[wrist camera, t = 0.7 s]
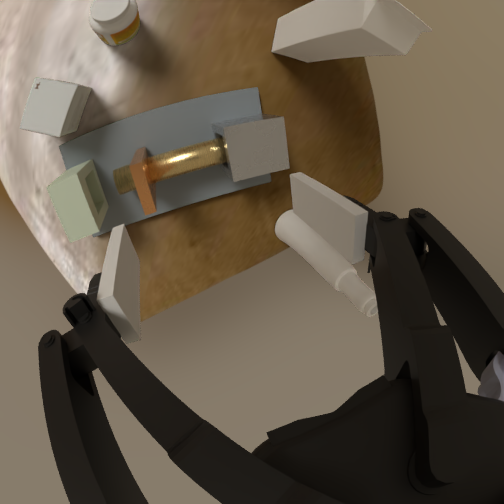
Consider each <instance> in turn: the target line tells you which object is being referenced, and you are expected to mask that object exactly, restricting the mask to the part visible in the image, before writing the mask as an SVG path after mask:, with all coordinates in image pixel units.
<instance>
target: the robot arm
mask: <svg viewBox="0 0 504 504" xmlns="http://www.w3.org/2000/svg"><path fill="white" fill-rule="evenodd" d="M290 182H291V192H292V203H293V213H294V214H296V215H297V216H298V217H299V218H300V219H301V220H303V221H304V222H305V223H306V224H307V225H308V226H310V227H311V228H312V229H313V230H314V231H315V232H316V233H318V234H319V235H320V236H321V237H322V238H323V239H324V240H325V241H327V242H328V243H329V244H330V245H331V246H332V247H333V248H334V249H335V250H337V251H338V252H339V253H340V254H341V255H342V256H343V257H344V258H345V259H346V260H347V261H349V262H350V263H351V264H352V265H353V264H356V263H358V262H360V261H363V260H364V254H365V250H366V251H367V252H368V253H370V259H369V266H368V273H370V270H371V272H372V278H373V283H374V288H375V295H376V301H377V307H378V314H379V321H380V329H381V337H382V346H383V357H384V367H385V374H384V375H383V376H381V377H379V378H378V379H376V380H374V381H373V382H371V383H369V384H368V385H366V386H364V387H363V388H361V389H359V390H358V391H357V392H356V393H355V394H354V395H353V396H351V397H350V398H349V399H348V400H347V401H346V402H345V403H344V404H343V405H342V406H340V407H339V408H338V409H337V410H336V411H334V412H332V413H328V414H324V415H320V416H315V417H310V418H305V419H301V420H297V421H294V422H292V423H290V424H287V425H285V426H282V427H280V428H277V429H275V430H272V431H269V432H267V435H268V437H269V439H267V440H266V441H264V442H263V443H262V444H261V445H259V446H258V447H257V448H256V449H255V450H254V451H253V452H252V453H250V452H248V451H247V450H245V449H244V448H242V447H241V446H240V445H238V444H237V443H235V442H234V441H233V440H231V439H230V438H229V437H227V436H225V435H224V434H223V433H222V432H221V431H219V430H218V429H217V428H215V427H214V426H213V425H211V424H210V423H209V422H207V421H206V420H203V419H202V418H201V417H199V416H198V415H197V414H196V413H195V412H193V411H192V410H191V409H190V408H189V407H188V406H187V405H185V404H184V403H183V402H182V401H181V400H180V399H179V398H177V397H176V396H175V395H174V394H173V393H172V392H171V391H170V390H169V389H168V388H167V387H165V385H164V384H162V382H160V380H159V379H157V378H156V377H155V376H154V375H153V374H152V373H151V371H149V370H148V369H147V367H146V366H145V365H144V364H143V363H142V362H141V361H140V360H139V359H138V358H137V357H136V356H135V355H134V354H133V353H132V351H131V350H130V349H129V348H128V347H127V346H126V345H125V344H124V342H123V341H122V340H121V337H122V339H123V340H124V341H125V343H126V344H128V343H131V342H135V341H138V340H141V330H140V329H141V328H140V260H139V258H138V256H137V253H136V251H135V249H134V247H133V244H132V242H131V239H130V237H129V235H128V232H127V230H126V227H125V225H124V224H122V225H119V226H116V227H114V228H113V229H112V232H111V236H110V240H109V244H108V248H107V252H106V256H105V261H104V265H103V270H102V272H101V273H98V274H95V275H94V276H93V278H92V279H91V281H90V283H89V288H88V289H89V290H88V292H87V295H86V294H85V293H80V294H77V295H74V296H73V297H71V298H70V299H69V300H68V301H67V302H66V303H65V305H64V307H63V314H64V315H65V317H66V318H67V320H68V321H69V322H70V324H71V325H72V326H73V327H74V328H73V329H72V330H71V331H69V332H67V333H65V334H64V335H61V334H60V333H59V332H58V331H57V330H51V331H49V332H47V333H46V334H44V335H43V337H42V338H41V340H40V342H39V346H38V351H39V370H40V381H41V391H42V398H43V405H44V412H45V418H46V423H47V428H48V433H49V437H50V442H51V446H52V450H53V454H54V457H55V461H56V464H57V468H58V471H59V474H60V477H61V480H62V483H63V486H64V489H65V491H66V494H67V497H68V499H69V502H70V504H148V502H147V500H146V499H145V497H144V495H143V493H142V492H141V490H140V488H139V486H138V485H137V483H136V481H135V479H134V477H133V475H132V473H131V471H130V469H129V467H128V466H127V463H126V461H125V459H124V457H123V455H122V453H121V451H120V448H119V446H118V444H117V441H116V440H115V437H114V435H113V432H112V429H111V427H110V425H109V422H108V420H107V417H106V414H105V411H104V408H103V405H102V403H101V400H100V397H99V394H98V390H97V387H96V384H95V381H94V377H93V374H92V371H93V370H95V369H97V368H99V370H100V371H101V373H102V374H103V376H104V377H105V378H106V380H107V381H108V383H109V384H110V385H111V387H112V388H113V389H114V391H115V392H116V393H117V395H118V396H119V397H120V399H121V400H122V401H123V402H124V404H125V405H126V406H127V408H128V409H129V410H130V411H131V412H132V414H133V415H134V416H135V417H136V418H137V420H138V421H139V422H140V423H141V424H142V425H143V427H144V428H145V429H146V430H147V431H148V432H149V433H150V434H151V435H152V437H153V438H154V439H155V440H156V441H157V442H158V443H159V444H160V445H161V446H162V447H163V448H164V449H165V450H166V451H167V453H168V456H169V457H170V459H171V460H172V461H173V462H174V463H175V464H176V465H177V466H178V467H179V468H180V469H181V470H182V471H183V472H184V473H186V474H187V475H188V476H189V477H190V478H191V479H192V480H193V481H195V482H196V483H197V484H198V485H199V486H200V487H202V488H203V489H204V490H205V491H207V492H208V493H209V494H210V495H212V496H213V497H214V498H215V499H217V500H218V501H219V502H221V503H222V504H504V293H503V292H502V290H501V289H500V288H499V287H498V285H497V284H496V283H495V282H494V280H493V279H492V278H491V277H490V275H489V274H488V273H487V272H486V271H485V270H484V268H483V267H482V266H481V265H480V264H479V262H478V261H477V260H476V259H475V258H474V257H473V256H472V255H471V254H470V252H469V251H468V250H467V249H466V248H465V247H464V246H463V245H462V244H461V243H460V242H459V241H458V240H457V239H456V238H455V237H454V236H453V235H452V234H451V233H450V232H449V231H448V230H447V229H446V228H445V227H444V226H443V225H442V224H441V223H440V222H439V221H438V220H437V219H436V218H435V217H434V216H433V215H432V214H431V213H429V212H428V211H426V210H424V209H420V208H415V209H411V210H410V211H409V217H408V218H403V219H399V218H398V217H397V216H396V215H395V214H393V213H390V212H384V211H383V212H378V213H377V212H375V211H373V210H372V209H370V208H368V207H367V206H365V205H363V204H362V203H360V202H359V201H357V200H355V199H354V198H351V197H348V196H342V195H340V194H338V193H337V192H335V191H333V190H332V189H330V188H328V187H326V186H325V185H323V184H321V183H319V182H318V181H316V180H314V179H312V178H310V177H309V176H307V175H305V174H303V173H301V172H298V173H294V174H290ZM426 245H428V249H429V252H427V251H426ZM433 303H434V304H435V306H436V307H437V309H438V311H439V312H440V314H441V316H442V317H443V319H444V321H445V322H446V324H447V325H444V326H441V325H440V323H439V320H438V317H437V313H436V310H435V308H434V304H433ZM453 337H454V338H455V340H456V342H457V343H458V346H459V348H460V350H461V351H462V353H463V355H464V357H465V359H466V361H467V363H468V364H469V366H470V368H471V370H472V371H473V373H474V374H475V375H476V377H477V378H478V380H479V381H480V382H481V385H480V386H479V388H478V394H479V395H474V394H470V393H466V389H465V384H464V379H463V375H462V370H461V366H460V361H459V357H458V354H457V349H456V346H455V342H454V338H453Z"/></svg>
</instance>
